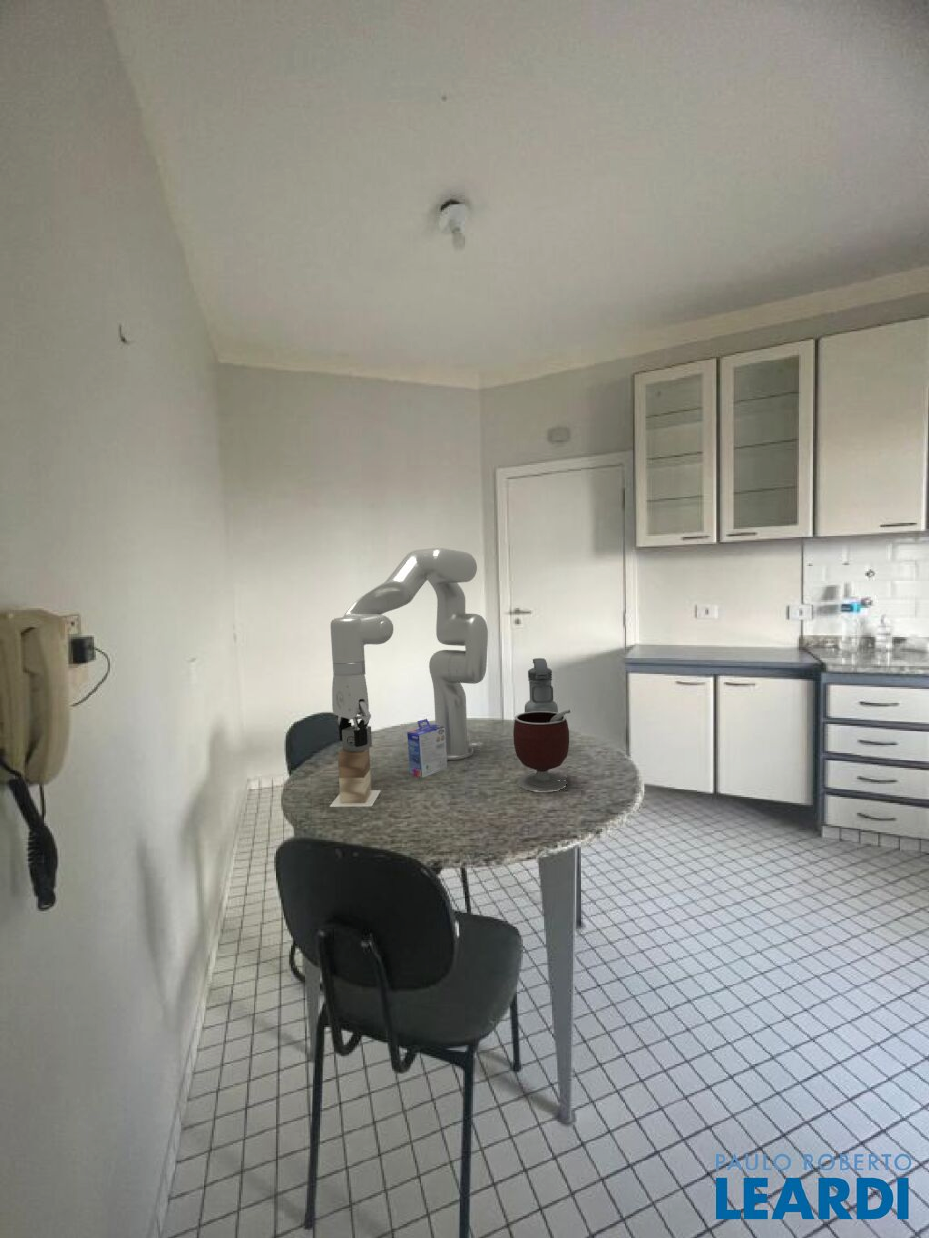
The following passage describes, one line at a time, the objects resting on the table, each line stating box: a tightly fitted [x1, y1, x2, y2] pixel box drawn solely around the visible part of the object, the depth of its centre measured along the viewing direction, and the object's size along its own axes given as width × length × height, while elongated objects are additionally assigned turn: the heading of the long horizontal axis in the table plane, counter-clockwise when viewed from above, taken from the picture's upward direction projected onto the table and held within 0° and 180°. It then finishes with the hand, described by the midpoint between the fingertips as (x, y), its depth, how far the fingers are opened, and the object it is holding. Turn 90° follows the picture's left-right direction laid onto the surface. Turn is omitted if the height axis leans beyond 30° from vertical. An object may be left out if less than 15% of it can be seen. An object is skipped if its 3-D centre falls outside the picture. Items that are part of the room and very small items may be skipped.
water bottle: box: [524, 657, 559, 713], centre depth 163 cm, size 10×10×28 cm
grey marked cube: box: [341, 724, 373, 752], centre depth 133 cm, size 5×5×5 cm
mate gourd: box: [512, 709, 571, 791], centre depth 138 cm, size 16×14×20 cm
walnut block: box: [337, 747, 371, 779], centre depth 133 cm, size 6×6×6 cm
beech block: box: [338, 769, 372, 803], centre depth 133 cm, size 6×6×6 cm
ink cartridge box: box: [406, 718, 448, 778], centre depth 151 cm, size 10×6×14 cm, turn 137°
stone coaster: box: [329, 789, 382, 808], centre depth 133 cm, size 10×10×1 cm
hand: (353, 742), depth 133 cm, fingers open, 6 cm apart
